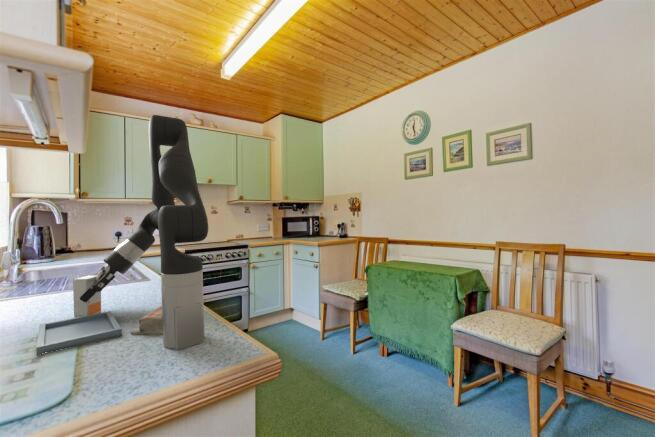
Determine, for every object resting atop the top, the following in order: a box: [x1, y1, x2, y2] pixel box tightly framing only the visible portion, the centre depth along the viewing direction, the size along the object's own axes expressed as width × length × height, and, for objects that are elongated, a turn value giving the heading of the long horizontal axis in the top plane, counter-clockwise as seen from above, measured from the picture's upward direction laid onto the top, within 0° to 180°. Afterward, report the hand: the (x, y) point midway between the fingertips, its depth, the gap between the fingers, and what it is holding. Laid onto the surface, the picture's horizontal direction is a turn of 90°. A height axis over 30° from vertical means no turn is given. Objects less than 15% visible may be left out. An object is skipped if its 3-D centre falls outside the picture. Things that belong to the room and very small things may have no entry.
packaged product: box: [130, 305, 163, 336], centre depth 90 cm, size 18×5×10 cm
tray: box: [36, 310, 122, 356], centre depth 83 cm, size 20×16×2 cm
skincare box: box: [72, 274, 102, 318], centre depth 97 cm, size 6×4×12 cm
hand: (81, 298), depth 96 cm, fingers closed on skincare box, 7 cm apart
